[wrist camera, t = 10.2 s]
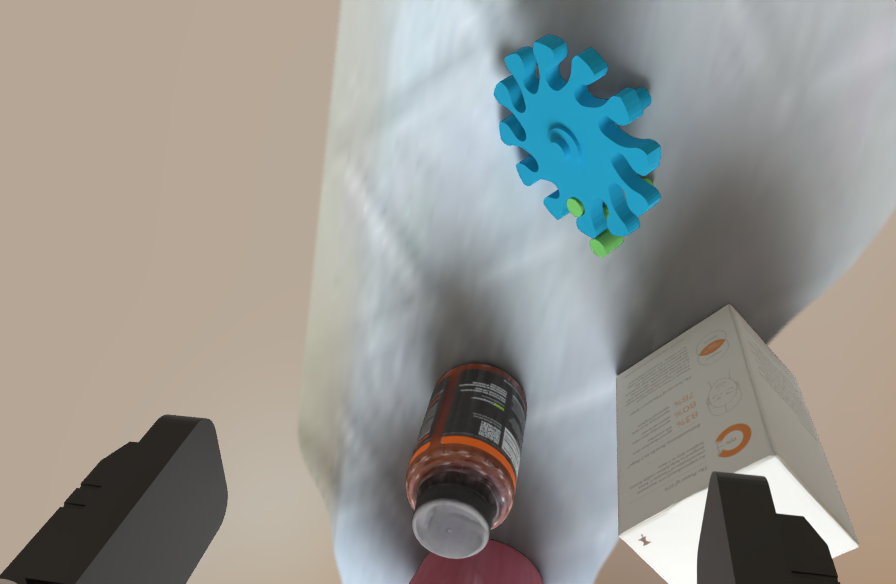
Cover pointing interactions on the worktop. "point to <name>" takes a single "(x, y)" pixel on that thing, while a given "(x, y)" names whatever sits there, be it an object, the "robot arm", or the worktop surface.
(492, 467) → the supplement bottle
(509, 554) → the plant pot
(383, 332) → the worktop surface
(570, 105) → the gear
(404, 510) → the worktop surface
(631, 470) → the small box
